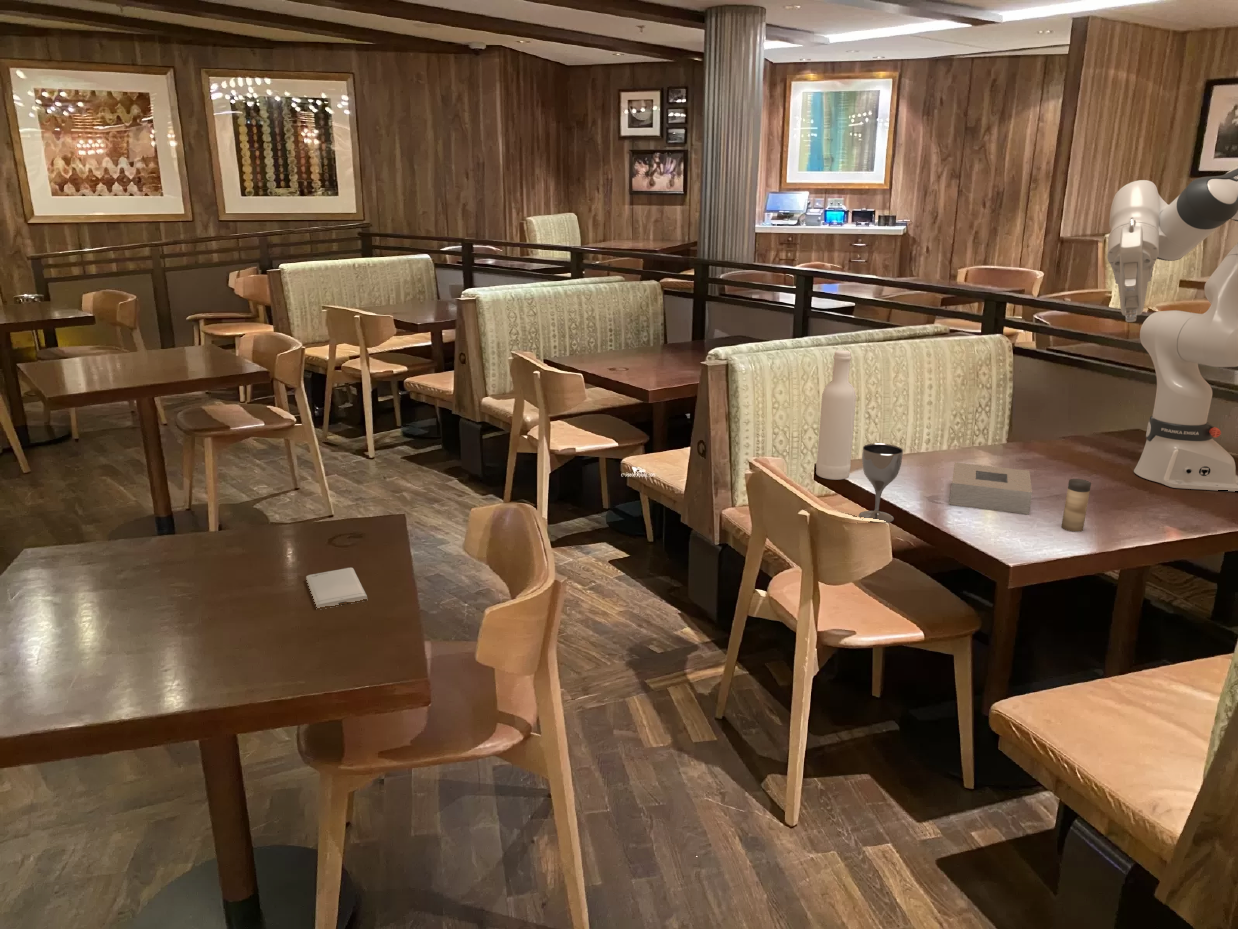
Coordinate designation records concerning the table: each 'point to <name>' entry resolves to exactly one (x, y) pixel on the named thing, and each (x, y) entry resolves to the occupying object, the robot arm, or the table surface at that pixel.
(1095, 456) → the table surface
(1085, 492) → the plug
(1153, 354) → the robot arm
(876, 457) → the wine glass
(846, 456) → the bottle
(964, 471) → the housing
